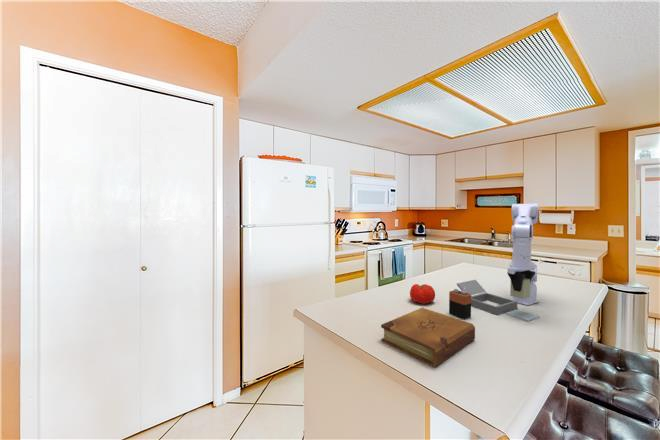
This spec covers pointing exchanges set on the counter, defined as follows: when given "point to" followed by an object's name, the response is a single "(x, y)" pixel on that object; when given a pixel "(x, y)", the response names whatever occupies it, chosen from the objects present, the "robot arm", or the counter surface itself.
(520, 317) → the mat
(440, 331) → the diary
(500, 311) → the case
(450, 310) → the battery
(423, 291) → the tomato
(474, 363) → the counter surface
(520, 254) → the robot arm
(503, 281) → the counter surface
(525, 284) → the block
